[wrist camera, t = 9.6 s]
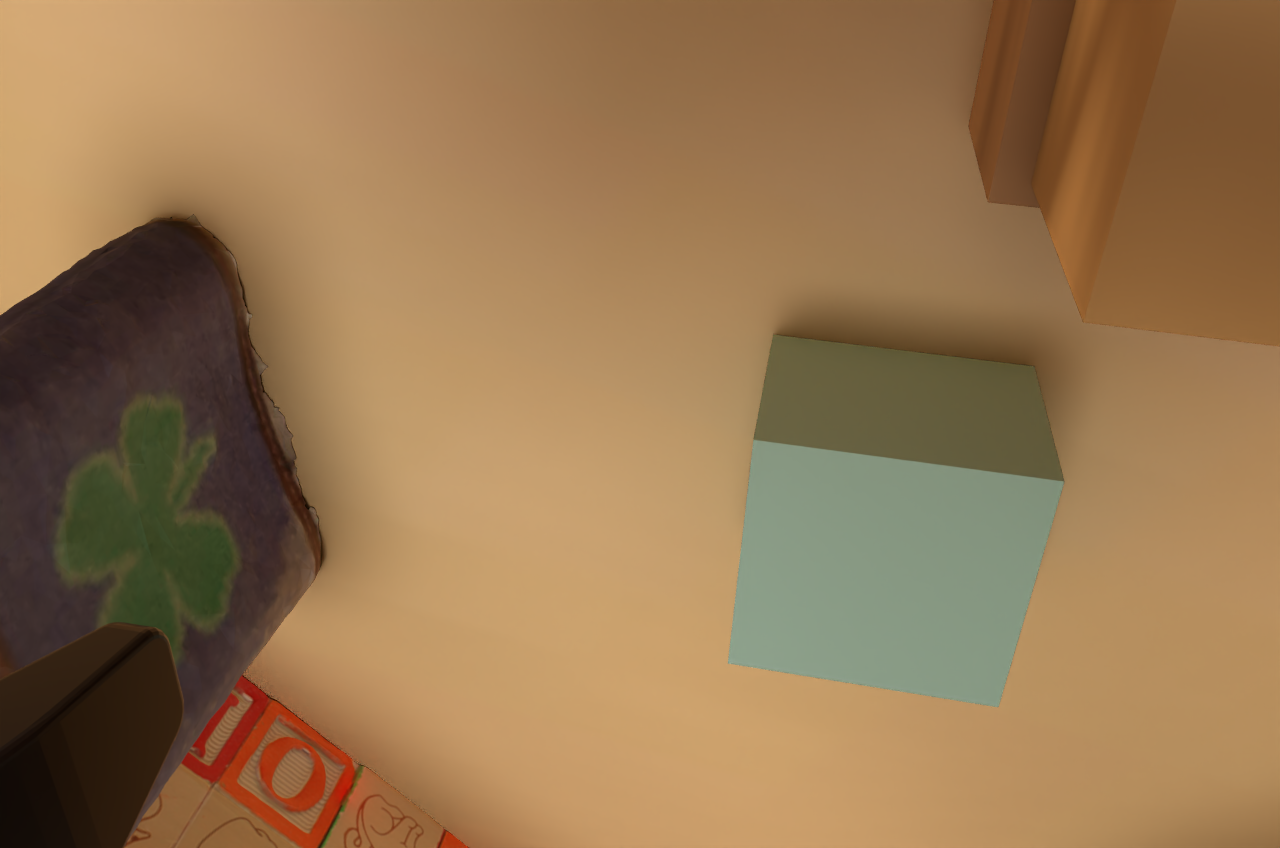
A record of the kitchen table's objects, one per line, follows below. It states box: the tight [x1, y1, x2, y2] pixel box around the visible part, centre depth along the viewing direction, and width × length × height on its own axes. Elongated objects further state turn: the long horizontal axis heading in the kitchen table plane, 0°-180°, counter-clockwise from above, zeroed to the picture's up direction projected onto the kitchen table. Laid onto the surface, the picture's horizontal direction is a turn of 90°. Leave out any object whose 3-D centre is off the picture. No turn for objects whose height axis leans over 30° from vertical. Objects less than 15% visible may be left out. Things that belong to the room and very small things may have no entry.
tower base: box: [728, 335, 1064, 707], centre depth 20 cm, size 5×5×4 cm
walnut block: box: [969, 0, 1076, 208], centre depth 15 cm, size 5×5×4 cm
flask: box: [0, 214, 321, 847], centre depth 20 cm, size 9×3×11 cm, turn 6°
